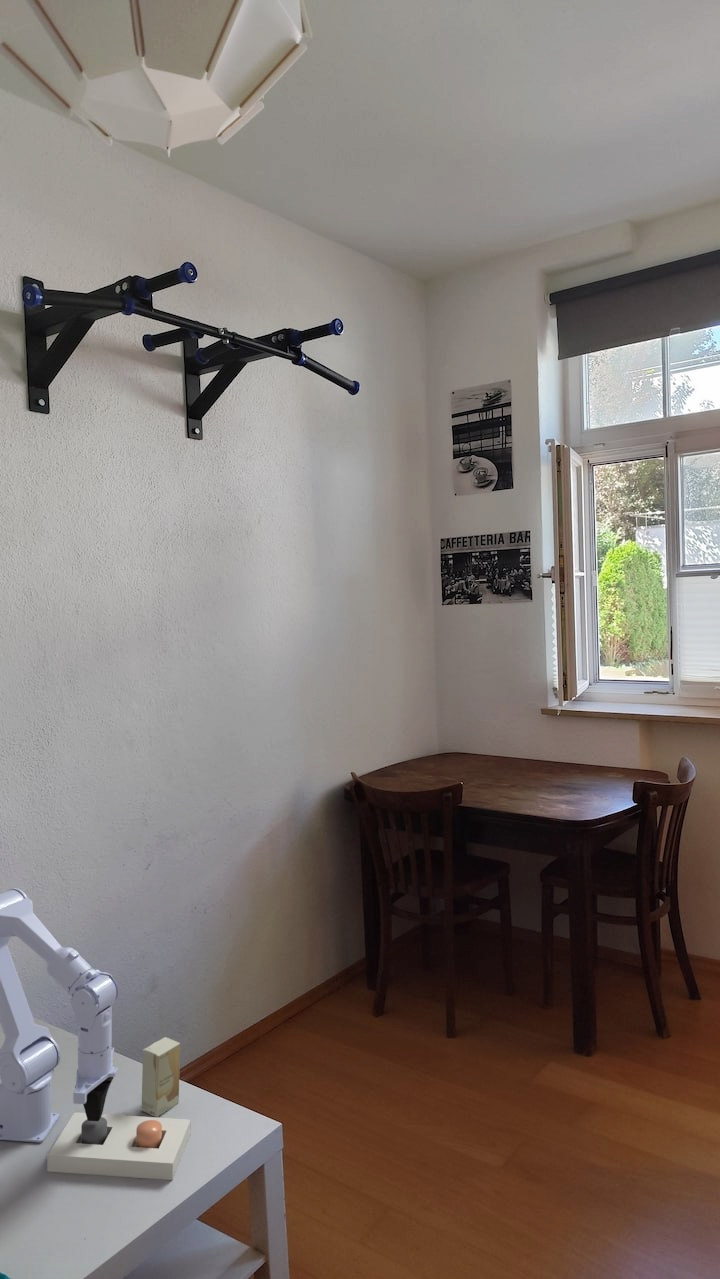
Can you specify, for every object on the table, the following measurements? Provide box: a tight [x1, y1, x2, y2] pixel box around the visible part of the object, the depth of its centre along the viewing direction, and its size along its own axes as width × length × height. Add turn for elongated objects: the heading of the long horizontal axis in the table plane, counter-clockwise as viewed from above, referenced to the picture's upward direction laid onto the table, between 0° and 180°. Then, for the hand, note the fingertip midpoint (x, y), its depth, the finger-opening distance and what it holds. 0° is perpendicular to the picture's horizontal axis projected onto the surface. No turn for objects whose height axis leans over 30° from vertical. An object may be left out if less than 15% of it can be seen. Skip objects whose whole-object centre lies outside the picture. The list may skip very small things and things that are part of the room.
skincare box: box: [141, 1036, 181, 1118], centre depth 167 cm, size 6×4×12 cm
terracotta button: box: [136, 1120, 162, 1149], centre depth 153 cm, size 4×4×3 cm
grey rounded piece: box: [81, 1117, 107, 1145], centre depth 153 cm, size 4×4×3 cm
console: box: [46, 1111, 192, 1181], centre depth 153 cm, size 22×12×3 cm, turn 87°
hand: (94, 1118), depth 153 cm, fingers closed
